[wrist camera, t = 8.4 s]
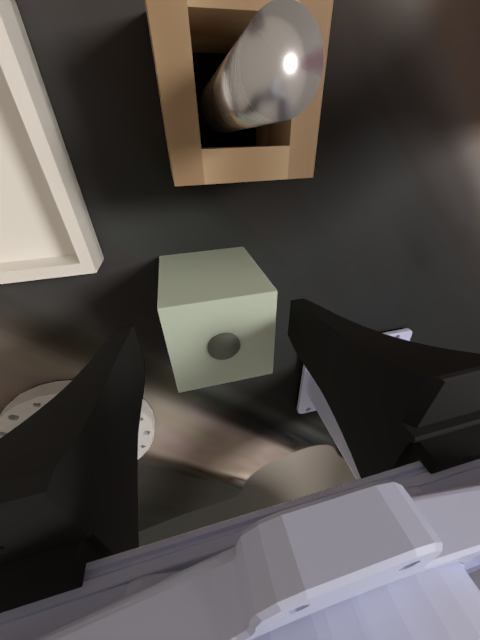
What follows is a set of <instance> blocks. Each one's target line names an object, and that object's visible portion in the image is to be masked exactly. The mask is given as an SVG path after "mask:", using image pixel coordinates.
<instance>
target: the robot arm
mask: <svg viewBox="0 0 480 640" xmlns="http://www.w3.org/2000/svg"><path fill="white" fill-rule="evenodd" d="M288 336H289V338H290V341H291V343H292V345H293V347H294V349H295V351H296V353H297V354H298V356H299V358H300V359H301V361H302V362H303V370H302V377H301V384H300V390H299V397H298V404H297V411H298V413H299V414H303V413H308V412H312V411H316V410H317V412H318V414H319V416H320V417H321V419H322V421H323V423H324V424H325V426H326V428H327V430H328V431H329V433H330V435H331V436H332V438H333V440H334V442H335V443H336V445H337V447H338V449H339V450H340V452H341V454H342V456H343V457H344V459H345V461H346V463H347V464H348V466H349V468H350V470H351V471H352V473H353V475H354V477H355V478H356V480H355V481H352V482H349V483H346V484H343V485H339V486H336V487H333V488H329V489H326V490H323V491H320V492H316V493H313V494H310V495H307V496H303V497H300V498H297V499H294V500H290V501H287V502H284V503H281V504H277V505H274V506H271V507H268V508H264V509H261V510H258V511H255V512H251V513H248V514H245V515H242V516H239V517H235V518H232V519H229V520H225V521H222V522H219V523H216V524H212V525H210V526H206V527H203V528H200V529H196V530H193V531H190V532H187V533H184V534H180V535H177V536H174V537H170V538H167V539H164V540H160V541H157V542H154V543H151V544H147V545H144V546H141V547H139V539H138V493H137V467H138V433H139V423H140V416H141V408H142V400H143V393H144V384H145V360H144V357H143V354H142V351H141V348H140V345H139V342H138V339H137V336H136V333H135V330H134V326H133V325H132V326H125V327H119V328H117V329H116V331H115V332H114V333H113V334H112V336H111V337H110V338H109V339H108V341H107V342H106V343H105V344H104V346H103V347H102V348H101V349H100V350H99V352H98V353H97V354H96V355H95V356H94V358H93V359H92V360H91V361H90V362H89V363H88V364H87V365H86V366H85V367H84V369H83V370H82V371H81V372H80V373H79V374H78V375H77V376H76V377H75V378H74V379H73V380H72V381H71V382H70V383H69V384H68V385H67V386H66V387H65V388H64V389H63V390H61V391H60V392H59V393H58V394H57V395H56V396H55V397H54V398H52V399H51V400H50V401H49V402H48V403H46V404H45V405H44V406H43V407H41V408H40V409H39V410H38V411H36V412H35V413H34V414H33V415H31V416H30V417H29V418H28V419H26V420H25V421H24V422H22V423H21V424H20V425H18V426H17V427H15V428H14V429H13V430H11V431H10V432H9V433H7V434H6V435H4V436H3V437H1V438H0V640H480V354H477V353H470V352H463V351H456V350H450V349H444V348H439V347H434V346H429V345H424V344H420V343H415V342H411V341H410V338H411V336H412V331H411V330H410V329H408V328H405V329H400V330H395V331H390V332H384V333H381V332H378V331H375V330H372V329H369V328H366V327H364V326H361V325H359V324H357V323H354V322H352V321H350V320H347V319H345V318H343V317H341V316H339V315H337V314H335V313H333V312H331V311H329V310H327V309H325V308H323V307H321V306H319V305H316V304H314V303H312V302H310V301H308V300H306V299H297V300H291V307H290V317H289V328H288Z"/></svg>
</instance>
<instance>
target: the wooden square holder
mask: <svg viewBox="0 0 480 640" xmlns="http://www.w3.org/2000/svg"><path fill="white" fill-rule="evenodd" d="M270 1H273V0H145V7H146V14H147V20H148V27H149V33H150V39H151V46H152V52H153V58H154V65H155V71H156V77H157V84H158V90H159V96H160V103H161V109H162V115H163V122H164V128H165V134H166V141H167V147H168V153H169V160H170V166H171V173H172V177H173V181H174V185H175V186H191V185H206V184H222V183H237V182H252V181H268V180H283V179H298V178H313V174H314V165H315V156H316V148H317V139H318V130H319V122H320V113H321V104H322V96H323V87H324V78H325V69H326V61H327V52H328V43H329V35H330V26H331V17H332V9H333V0H296V1H298V2H299V3H301V4H302V5H304V6H305V7H306V8H307V9H308V10H309V11H310V12H311V14H312V15H313V17H314V18H315V20H316V22H317V24H318V27H319V30H320V33H321V36H322V41H323V49H324V64H323V72H322V77H321V81H320V84H319V87H318V89H317V92H316V94H315V96H314V98H313V99H312V101H311V103H310V104H309V105H308V106H307V108H306V109H305V110H304V111H303V112H302V113H300V114H299V115H298V116H296V117H294V118H292V119H290V120H286V121H281V122H277V123H272V124H267V125H262V126H257V127H256V146H233V147H207V148H201V140H200V130H199V120H198V109H197V99H196V88H195V78H194V68H193V57H192V53H219V54H228V53H229V52H230V50H231V49H232V47H233V46H234V44H235V43H236V41H237V40H238V39H239V37H240V36H241V34H242V33H243V31H244V30H245V28H246V27H247V26H248V24H249V23H250V21H251V20H252V18H253V17H254V16H255V14H256V13H257V12H258V11H259V10H260V9H261V8H262V7H263V6H264V5H265V4H267V3H269V2H270Z"/></svg>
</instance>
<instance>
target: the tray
mask: <svg viewBox="0 0 480 640" xmlns="http://www.w3.org/2000/svg"><path fill="white" fill-rule="evenodd" d="M103 260H104V257H103V254H102V251H101V248H100V246H99V243H98V240H97V237H96V234H95V231H94V228H93V225H92V222H91V219H90V216H89V214H88V211H87V208H86V205H85V202H84V199H83V196H82V193H81V190H80V187H79V184H78V182H77V179H76V176H75V173H74V170H73V167H72V164H71V161H70V158H69V155H68V153H67V150H66V147H65V144H64V141H63V138H62V135H61V132H60V129H59V126H58V123H57V121H56V118H55V115H54V112H53V109H52V106H51V103H50V100H49V97H48V94H47V91H46V89H45V86H44V83H43V80H42V77H41V74H40V71H39V68H38V65H37V62H36V59H35V57H34V54H33V51H32V48H31V45H30V42H29V39H28V36H27V33H26V30H25V27H24V25H23V22H22V19H21V16H20V13H19V10H18V7H17V4H16V1H15V0H0V284H6V283H14V282H23V281H31V280H40V279H48V278H57V277H65V276H74V275H82V274H91V273H97V271H98V269H99V267H100V265H101V263H102V262H103Z"/></svg>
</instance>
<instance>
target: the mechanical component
mask: <svg viewBox="0 0 480 640" xmlns="http://www.w3.org/2000/svg"><path fill="white" fill-rule="evenodd" d="M71 381H72V380H66V381H55V382H51V383H47V384H43V385H39V386H37V387H34V388H32V389H30V390H28V391H25V392H23V393H21V394H19V395H18V396H17V397H16V398H15V399H14V400H12V401H11V402H10V403H9V404H8V405H7V406H6V407H5V408H4V410H3V411H2V413H1V414H0V438H1V437H3V436H4V435H6V434H7V433H9V432H10V431H11V430H13V429H14V428H15V427H17V426H18V425H20V424H21V423H22V422H24V421H25V420H26V419H28V418H29V417H30V416H31V415H33V414H34V413H35V412H36V411H38V410H39V409H40V408H41V407H43V406H44V405H45V404H46V403H48V402H49V401H50V400H51V399H52V398H54V397H55V396H56V395H57V394H58V393H59V392H60V391H61V390H63V389H64V388H65V387H66V386H67V385H68V384H69V383H70V382H71ZM154 426H155V421H154V415H153V411H152V409H151V408H150V406H149V405H148V404H147V402H146V401H145V400H144V399H143V400H142V408H141V416H140V423H139V433H138V459H139V458H141V457H142V456H143V454H144V453H145V452H146V451H147V450H148V449H149V448H150V446H151V443H152V441H153V439H154Z"/></svg>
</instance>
